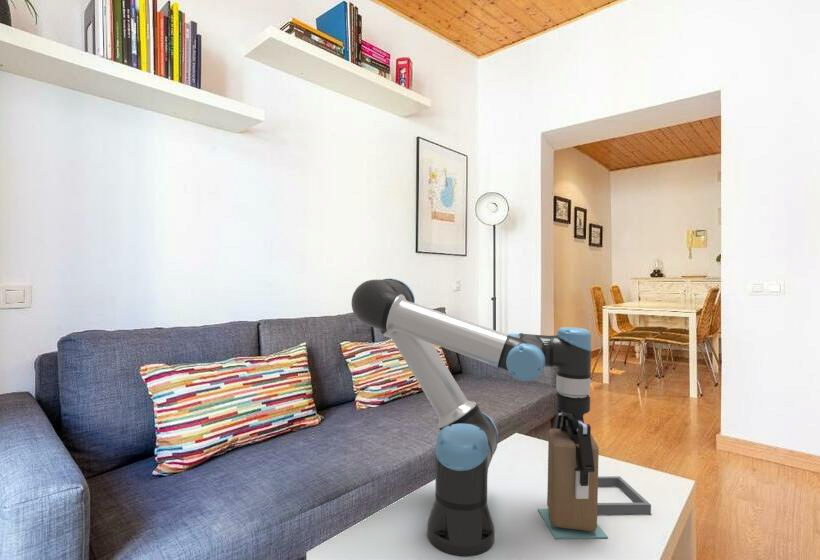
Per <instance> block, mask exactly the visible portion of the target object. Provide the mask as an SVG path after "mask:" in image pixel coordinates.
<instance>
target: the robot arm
mask: <svg viewBox="0 0 820 560" xmlns="http://www.w3.org/2000/svg"><path fill="white" fill-rule="evenodd" d="M415 299H416V298H415V295H414V292H413V290H412V289H411V288H410V286H408V284H407V283H405V282H404V281H402V280H399V279H395V278H384V279H369V280H366V281H364V282H362V283H360V284H359V285H358V286H357V287H356V288H355V290H354V291H353V294H352V297H351V309H352V313H353V314H354V316H355V317H356V319H358V320H359V321H360V323H362V324H365V325H366V326H368V327H371V328H375V329H378V330H379V331H380V333H381V334H382V336H383V337H386V338H390V340H391V339H392V341H393V343H394V345H395V346H396V348H397V350H398V351H399V353H400V355H401V356H402V358H403V360H404V362H405V363H406V364H407V366H408V367H409V368H408V369H410V371H411V373H412V375H413V376H414V379H415V380H416V382H417V383H418V385H419V386H420V388H421V389H422V391H423V393H424V395H425V396H426V398H427V399H428V401H429V403H430V404H431V406H432V408H433V410H434V411H435V413H436V414H437V416H438V419H439V420H438V424H437V428H438V430H439V432H438V433H437V436H436V441H435V446H434V447H435V448H434V449H435V450H434V452H435V453H434V454H435V489H434V491H435V499H434V502H433V505H432V508H431V511H430V512H429V513H430V514H429V516H428V519H427V525H426V528H427V529H426V530H427V531H426V532H427V533H426V534H427V538H428V539H429V542H430V543H431V544H432V545H433V546H434V547H435V548H437V549H439V550H440V551H442V552H445V553H447V554H450V555H456V556H475V555H479V554H482V553H484V552H487V551H488V550H489V549H490V548H491V547H492V546H493V545H494V542H495V537H496V536H495V533H496V532H495V531H496V530H495V525H494V522H493V517H492V514H491V512H490V508H489V504H488V472H489V467H490V464H491V463H492V462H491V461H492V458H493V456H494V455H495V452H496V451H497V448H498V443H499V433H498V429H497V426H496V424H495V422H494V420H493V419H492V418H491V417H490V416H489V415H487V414H486V413H484V412H483V411H481V409H480V407H479V405H478V404H477V402H475V401H472V400H468V398H467V397H466V396H465V393H464V392H463V391H462V389H461V388H460V386H459V384H458V383H457V381H456V380H455V378H454V375H452V373H451V371H450V370H449V368H448V367H447V365H446V363H445V362H444V360H443V359H442V357H441V355H440V353H439V352H438V350H437V349H436V347H435V345H436V346H438V347H441V348H444V349H446V350H449V351H452V352H455V353H456V354H457V353H458V354H460V355H462V356H466V357H468V358H471V359H474V360H477V361H479V362H482V363H485V364H487V365H491V366H493V367H496V368H498V369H500V370H504V371H505V372H509V373H510V375H511V376H512V377H513V378H515V379H516V380H518V381H522V382H529V381H533V380H535V379H536V378H538V377H539V376H540V375H541V374H542V371H544V369H545V368H546V367H547V368H548V367H549V368H556V377H555V378H556V381H555V382H556V383H555V384H556V385H555V387H556V388H555V389H556V391H557V393H556V397H555V404H556V418H555V423H554V428H555V429H561V430H562V431H568V432H569V437H570V439H572V440H573V441H574V443H575V444H579V448H578V447H577V446H576V445H575V446H576V461H577V466H578V468H575V471H576V480H575V498H576V499H588V495H589V472H594V471H595V469H594V461H593V452H592V444H591V436H590V433H591V431H592V430H591V425H590V424H589V423H588V424H586V423H585V421H584V415H586V414H588V413H589V412H590V411H591V397H590V394H591V384H592V383H593V381H592V379H591V373H592V367H591V366H592V336H591V335H592V334H591V332H590V331H589V330H588V329H586V328H582V327H574V326H573V327H572V326H571V327H570V326H569V327H568V326H567V327H566V326H565V327H559V328H558V329H557V333H556V334H554V335H546V334H530V333H523V332H520V333H509V334H507V333H504V332H500V331H498V330H495V329H492V328H489V327H486V326H483V325H481V324H477V323H474V322H471V321H468V320H465V319H462V318H459V317H456V316H453V315H450V314H447V313H444V312H442V311H438V310H435V309H432V308H430V307H427V306H424V305H421V304H418V303H416V302H415ZM591 434H592V433H591Z"/></svg>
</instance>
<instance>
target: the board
mask: <svg viewBox="0 0 820 560" xmlns="http://www.w3.org/2000/svg"><path fill="white" fill-rule="evenodd" d="M537 511H538V513H539V515H540V517H541V518H542V520H543V521H544V523H545V525H546V527H547V528H548V530H549V531H550V533H551V534H552V536H553V538H554V539H555V540H592V539H593V540H595V539H596V540H597V539H600V540H602V539H603V540H604V539H605V540H606V539H607V540H608V539H609V536H608V535H607V534H606V533H605V531H604V530H603V529H602V528H601V526H600V525H599V524H598V523H597V528H596V531H586V530H577V529H569V528H561V527H555V526H553V525H552V523H551V519H550V515H549V510H548V507H547V508H546V507H545V508H537Z"/></svg>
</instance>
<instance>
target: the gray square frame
mask: <svg viewBox="0 0 820 560" xmlns="http://www.w3.org/2000/svg"><path fill="white" fill-rule="evenodd" d="M598 488H618V489H619V490H620V491H622V492H623V494H624V495H626V496H627V497H628V498H629V499H630V500H631V501H632V502H597V516H629V515H630V516H631V515H632V516H636V515H637V516H638V515H639V516H640V515H641V516H642V515H643V516H645V515H646V516H648V515H652V514H651V511H652V504H651V503H650V502H649V501H648V500H647V499H645V498H644V497H643V496H642V495H641V494H640V493H639V492H638V491H637V490H636V489H634V487H632V486H631V485H630V484H629V482H627V481H626V480H624V479H623V478H622V477H621V476H618V475H616V476H598Z"/></svg>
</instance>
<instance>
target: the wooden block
mask: <svg viewBox="0 0 820 560" xmlns="http://www.w3.org/2000/svg"><path fill="white" fill-rule="evenodd" d="M590 436H591V444H592V452H593V461H594V469H595V471H594V472H589V495H588V499H576V498H575V480H576V471H575V468H578V466H577V461H576V446H577V447H578V448H579V444H575V443H574V441H573V440H572V439H570V437H569V432H568V431H562V430H561V429H555V427H554V428H550V429H548V445H547V447H548V450H547V455H548V456H547V494H546V495H547V498H546V500H547V501H546V503H547V504H546V505H547V508H548V510H549V515H550V519H551V523H552V525H553V526H555V527H561V528H569V529H577V530H586V531H596V528H597V524H598V515H597V503H599V502H598V498H599V497H598V495H599V494H598V491H599V487H598V477H599V454H600V453H599V452H600V450H599V449H600V448H599V445H598V444H597V442H596V440H595V439H594V436H593V434H592V433H590ZM575 445H576V446H575Z"/></svg>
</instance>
